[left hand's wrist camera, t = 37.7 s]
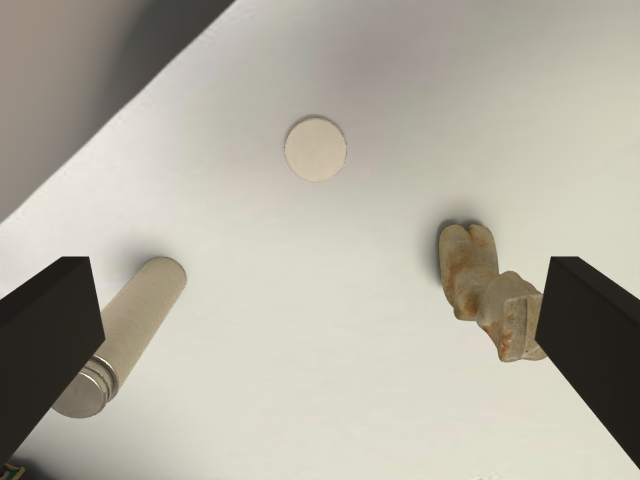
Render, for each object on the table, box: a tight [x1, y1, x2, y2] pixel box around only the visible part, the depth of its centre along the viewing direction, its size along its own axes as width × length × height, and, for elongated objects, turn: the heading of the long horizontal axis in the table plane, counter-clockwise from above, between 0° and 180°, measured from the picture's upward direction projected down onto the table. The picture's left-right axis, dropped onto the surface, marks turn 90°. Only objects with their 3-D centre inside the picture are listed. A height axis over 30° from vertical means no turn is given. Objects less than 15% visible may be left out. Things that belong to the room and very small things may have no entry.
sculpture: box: [439, 224, 547, 363], centre depth 35 cm, size 6×7×15 cm
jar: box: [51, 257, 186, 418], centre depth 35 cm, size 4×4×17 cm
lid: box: [284, 117, 347, 182], centre depth 38 cm, size 5×5×2 cm
